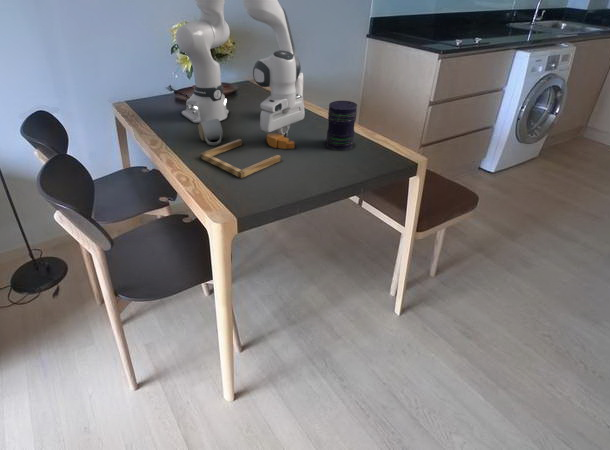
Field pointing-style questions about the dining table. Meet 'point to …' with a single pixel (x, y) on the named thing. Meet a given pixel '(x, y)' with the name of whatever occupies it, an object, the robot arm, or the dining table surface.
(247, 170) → the oak frame
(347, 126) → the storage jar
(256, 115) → the dining table surface
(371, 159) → the dining table surface
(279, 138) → the orange block cluster
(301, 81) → the milk carton
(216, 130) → the ceramic mug
